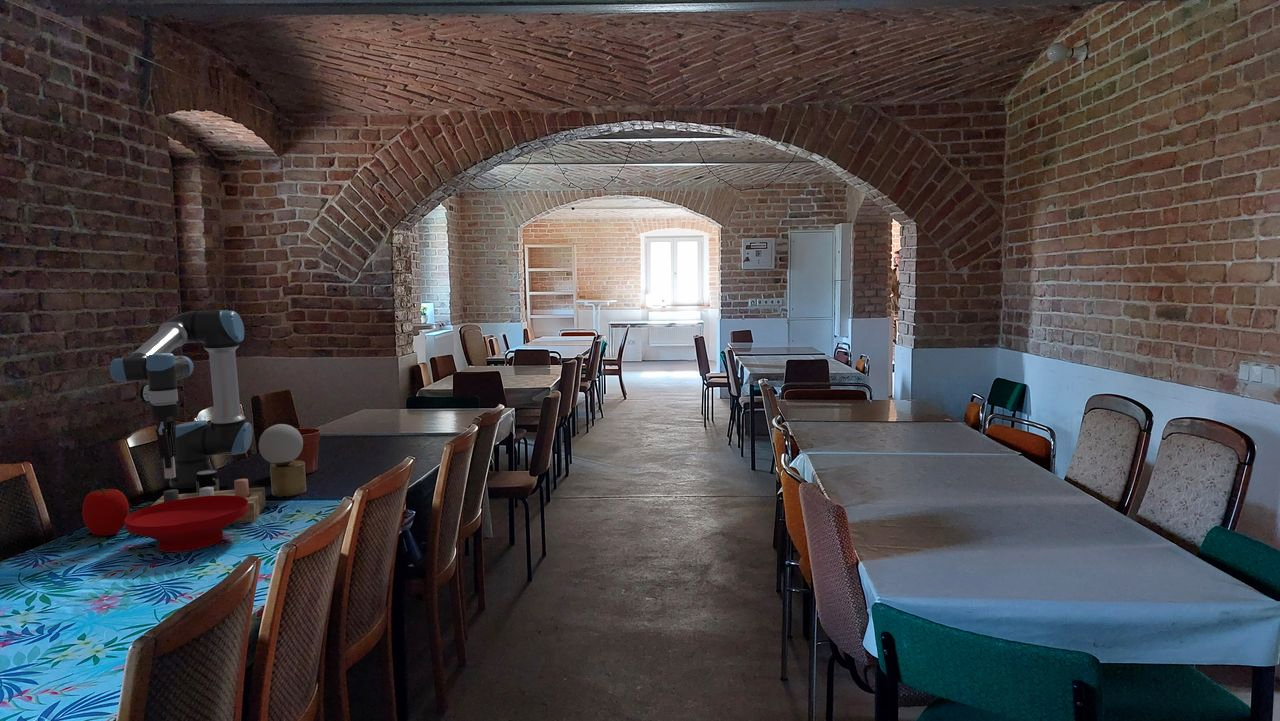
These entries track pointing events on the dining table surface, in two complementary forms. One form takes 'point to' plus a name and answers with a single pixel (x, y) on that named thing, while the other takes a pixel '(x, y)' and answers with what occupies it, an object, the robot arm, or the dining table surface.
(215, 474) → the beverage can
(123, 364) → the robot arm
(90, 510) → the tomato
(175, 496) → the plug black
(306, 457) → the flower pot
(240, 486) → the plug terracotta
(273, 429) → the lamp
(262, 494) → the plug board
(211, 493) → the plug grey
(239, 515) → the bowl
